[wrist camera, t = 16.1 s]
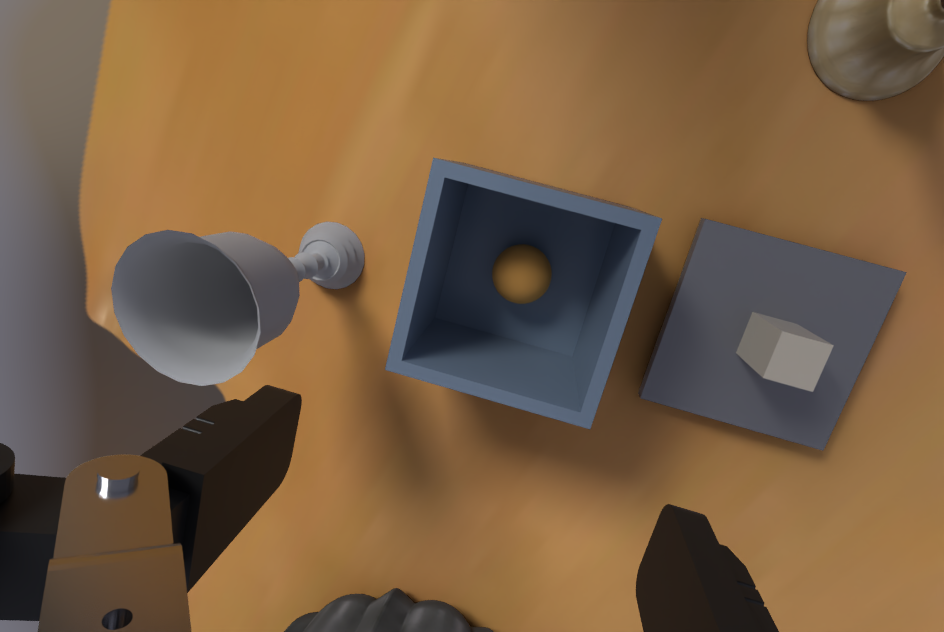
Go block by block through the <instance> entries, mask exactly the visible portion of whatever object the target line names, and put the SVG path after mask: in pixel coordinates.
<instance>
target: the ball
mask: <svg viewBox="0 0 944 632" xmlns="http://www.w3.org/2000/svg"><path fill="white" fill-rule="evenodd" d="M551 277H552V270H551V266H550V263H549V261H548V259H547V257H546V256H545V255H544V253H543V252H541V251H540V250H539V249H537V248H535V247H533V246H530V245H526V244H518V245H514V246H511V247H509V248H507V249H505V250H504V251H503V252H502V253H501V254H500V255H499V256H498V257H497V259H496V260H495V262H494V265H493V270H492V279H493V283H494V286H495V288H496V290H497V291H498V293H499V294H500V295H501V296H502V297H503V298H505V299H506V300H508V301H510V302H513V303H517V304H526V303H530V302H533V301H535V300H537V299H539V298H540V297H541V296H542V295H543V294H544V293H545V292H546V291H547V289H548V287H549V285H550V282H551Z"/></svg>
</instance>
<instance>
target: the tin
mask: <svg viewBox="0 0 944 632" xmlns="http://www.w3.org/2000/svg"><path fill="white" fill-rule="evenodd" d="M661 221H662V218H659V217H656V216H654V215H651V214H648V213H645V212H643V211H640V210H637V209H634V208H632V207H628V206H625V205H621V204H617V203H613V202H609V201H606V200H602V199H598V198H594V197H591V196H587V195H583V194H579V193H576V192H572V191H568V190H564V189H561V188H557V187H553V186H549V185H545V184H542V183H538V182H534V181H530V180H527V179H523V178H519V177H515V176H512V175H508V174H504V173H500V172H497V171H493V170H489V169H485V168H482V167H478V166H474V165H470V164H466V163H462V162H456V161H450V160H444V159H438V158H433V162H432V166H431V171H430V175H429V179H428V184H427V188H426V192H425V197H424V201H423V206H422V210H421V214H420V219H419V223H418V227H417V232H416V236H415V241H414V245H413V249H412V254H411V258H410V263H409V267H408V271H407V276H406V280H405V284H404V289H403V293H402V298H401V302H400V306H399V311H398V315H397V320H396V324H395V328H394V333H393V337H392V341H391V346H390V350H389V355H388V359H387V363H386V368H385V370H387V371H391V372H394V373H398V374H401V375H405V376H408V377H412V378H415V379H418V380H422V381H425V382H429V383H432V384H436V385H439V386H443V387H446V388H449V389H453V390H456V391H460V392H463V393H467V394H470V395H474V396H477V397H480V398H484V399H487V400H491V401H494V402H498V403H501V404H505V405H508V406H511V407H515V408H518V409H522V410H525V411H529V412H532V413H536V414H539V415H542V416H546V417H549V418H553V419H556V420H560V421H563V422H567V423H570V424H573V425H577V426H580V427H584V428H587V429H590V428H591V425H592V422H593V420H594V417H595V414H596V411H597V408H598V405H599V402H600V399H601V396H602V393H603V390H604V387H605V384H606V382H607V379H608V376H609V373H610V370H611V367H612V364H613V361H614V358H615V355H616V352H617V349H618V346H619V343H620V341H621V338H622V335H623V332H624V329H625V326H626V323H627V320H628V317H629V314H630V311H631V308H632V305H633V302H634V300H635V297H636V294H637V291H638V288H639V285H640V282H641V279H642V276H643V273H644V270H645V267H646V264H647V261H648V259H649V256H650V253H651V250H652V247H653V244H654V241H655V238H656V235H657V232H658V229H659V226H660V223H661ZM518 244H526V245H530V246H533V247H535V248H537V249H539V250H540V251H541V252H543V253H544V255H545V256H546V257H547V259H548V261H549V263H550V266H551V270H552V277H551V282H550V285H549V287H548V289H547V291H546V292H545V293H544V294H543V295H542V296H541V297H540V298H539V299H537V300H535V301H533V302H530V303H526V304H517V303H513V302H510V301H508V300H506V299H505V298H503V297H502V296H501V295H500V294H499V293H498V291H497V290H496V288H495V286H494V283H493V279H492V270H493V265H494V262H495V260H496V259H497V257H498V256H499V255H500V254H501V253H502V252H503V251H504V250H505V249H507V248H509V247H511V246H514V245H518Z"/></svg>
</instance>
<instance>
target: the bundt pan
mask: <svg viewBox="0 0 944 632" xmlns="http://www.w3.org/2000/svg"><path fill="white" fill-rule="evenodd" d="M284 632H493V631H492V630H491V629H489V628H486V627H470V626H469V624H468V622H467V621H466V620H465V618H464V617H463V615H462V614H461V613H460V612H459V611H458V610H456V609H455V608H454V607H452V606H451V605H449V604H447V603H445V602H441V601H437V600H425V601H421V602H418V603H414V602H413V601H412V600H411V599H410V598H409V597H408V596H407V595H406V594H405V593H404V592H403V591H402V590H400V589H398V588H395V589H392V590H391V591H389V592H388V593H386V594H384V595H383V596H381V597H380V598H378V599H376V598H374V597H371V596H369V595H365V594H350V595H345V596H342V597H340V598H337V599H336V600H334V601H332V602H331V603H329V604H328V605H326V606H325V607H324V608H323V609H322V610H321V611H320V612H313V613H308V614H305V615H303V616H301V617H299V618H297V619H296V620H295V621H294V622H292V624H291V625H290V626H289V627H288V628H287V629H286V630H285V631H284Z"/></svg>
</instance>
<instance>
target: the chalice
mask: <svg viewBox="0 0 944 632" xmlns="http://www.w3.org/2000/svg"><path fill="white" fill-rule="evenodd" d="M363 266H364V251H363V247H362V244H361V242H360V240H359V239H358V237H357V236H356V234H355V233H354V232H352V231H351V230H350V229H349V228H348V227H346V226H344V225H341V224H339V223H335V222H324V223H320V224H317V225H315V226H314V227H312V228H310V229H309V230H308V231H307V233H306V234H305V235H304V237H303V239H302V242H301V245H300V249H299V253H298V254H297V255H296V256H295V257H294V258H292V257H291V258H287V257H286V256H285V255H284V254H283V253H282V252H280V251H279V250H278V249H277V248H276V247H274V246H272V245H270V244H268V243H266V242H264V241H261V240H259V239H257V238H255V237H253V236H250V235H248V234H243V233H236V232H225V233H219V234H213V235H208V236H202V237H198V236H196V235H194V234H191V233H185V232H178V231H172V230H165V231H160V232H155V233H151V234H146V235H144V236H143V237H141V238H140V239H138V240H137V241H135V242H134V243H132V244H131V245H130V246H128V247H127V248H126V250H125V252H124V253H123V255H122V256H121V258H120V260H119V261H118V263H117V264H116V267H115V272H114V277H113V283H112V288H111V289H112V297H113V305H114V313H115V315H116V317H117V320H118V322H119V325H120V327H121V329H122V332H123V334H124V336H125V337H126V339H127V340H128V341H129V343H130V344H131V346H132V347H133V348H134V350H135V351H136V352H137V354H138V355H139V356H140V357H141V358H142V359H144V360H145V361H146V362H147V363H149V364H150V365H151V366H152V367H153V368H154V369H155V370H157V371H158V372H160V373H162V374H164V375H167V376H168V377H170V378H172V379H174V380H176V381H179V382H183V383H189V384H194V385H200V386H204V385H210V384H217V383H223V382H225V381H227V380H228V379H230V378H232V377H234V376H235V375H237V374H239V373H240V372H242V371H243V369H244V368H245V367H246V365H247V364H248V363H249V361H250V360H251V359H252V357H253V356H254V355H255V351H256V349H258V348H259V347H261V346H263V345H264V344H266V343H268V342H269V341H271V340H273V339H274V338H276V337H278V336H279V335H281V334H282V333H283V332H284V330H285V329H286V328H287V326H288V325H289V324H290V322H291V320H292V317H293V315H294V312H295V309H296V306H297V302H298V299H299V282H300V281H302V280H303V278H304V279H310V280H311V281H313V282H315V283H316V284H318V285H320V286H323V287H325V288H330V289H340V288H344V287H347V286H349V285H350V284H352V283H354V282H355V281H356V279H357V278H358V277H359V276H360V274H361V272H362V269H363Z"/></svg>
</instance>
